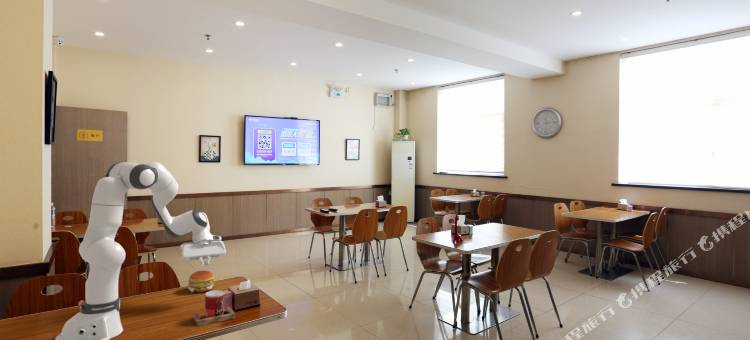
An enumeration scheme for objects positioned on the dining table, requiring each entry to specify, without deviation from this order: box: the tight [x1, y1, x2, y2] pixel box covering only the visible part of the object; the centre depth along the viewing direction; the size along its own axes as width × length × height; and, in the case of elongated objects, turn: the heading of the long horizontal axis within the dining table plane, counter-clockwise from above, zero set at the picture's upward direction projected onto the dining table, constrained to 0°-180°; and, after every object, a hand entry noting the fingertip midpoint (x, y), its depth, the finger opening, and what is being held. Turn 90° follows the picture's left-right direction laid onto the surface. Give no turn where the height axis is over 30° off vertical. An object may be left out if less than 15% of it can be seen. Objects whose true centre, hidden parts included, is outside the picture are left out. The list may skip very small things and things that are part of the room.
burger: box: [187, 270, 216, 293], centre depth 220 cm, size 13×14×10 cm
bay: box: [192, 306, 236, 327], centre depth 184 cm, size 16×10×2 cm, turn 123°
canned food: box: [204, 289, 225, 318], centre depth 186 cm, size 8×8×11 cm
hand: (205, 265), depth 199 cm, fingers closed
